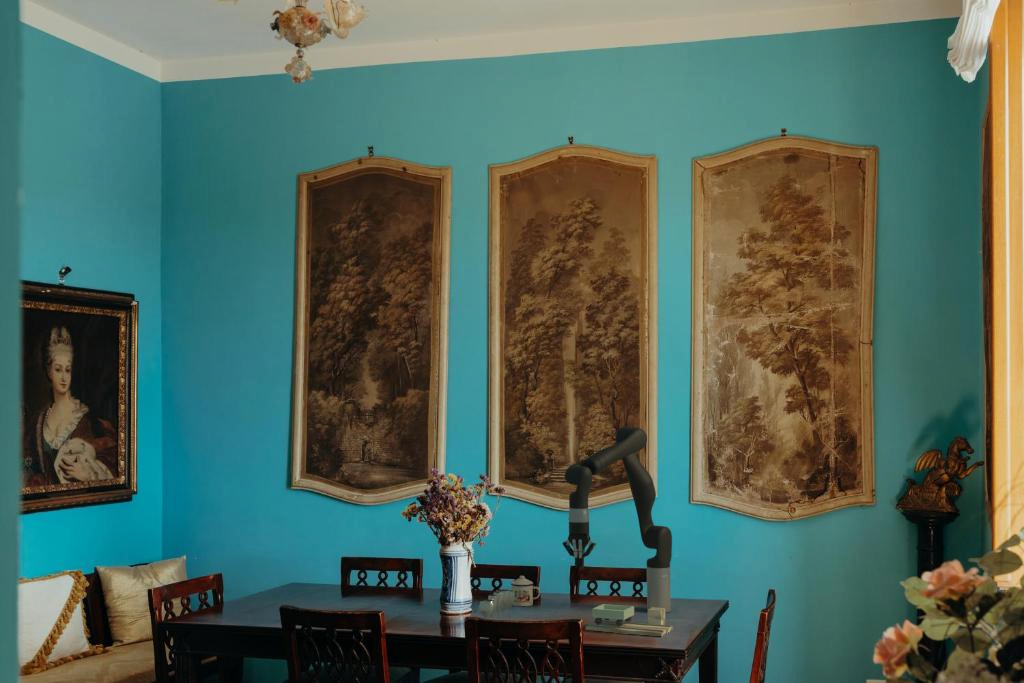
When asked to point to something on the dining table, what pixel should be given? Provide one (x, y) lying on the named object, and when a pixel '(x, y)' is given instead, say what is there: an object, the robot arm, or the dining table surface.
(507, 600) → the goblet set
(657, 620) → the cream block
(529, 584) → the teacup with lid
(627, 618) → the dolly
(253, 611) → the dining table surface
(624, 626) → the rail board
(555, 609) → the dining table surface
